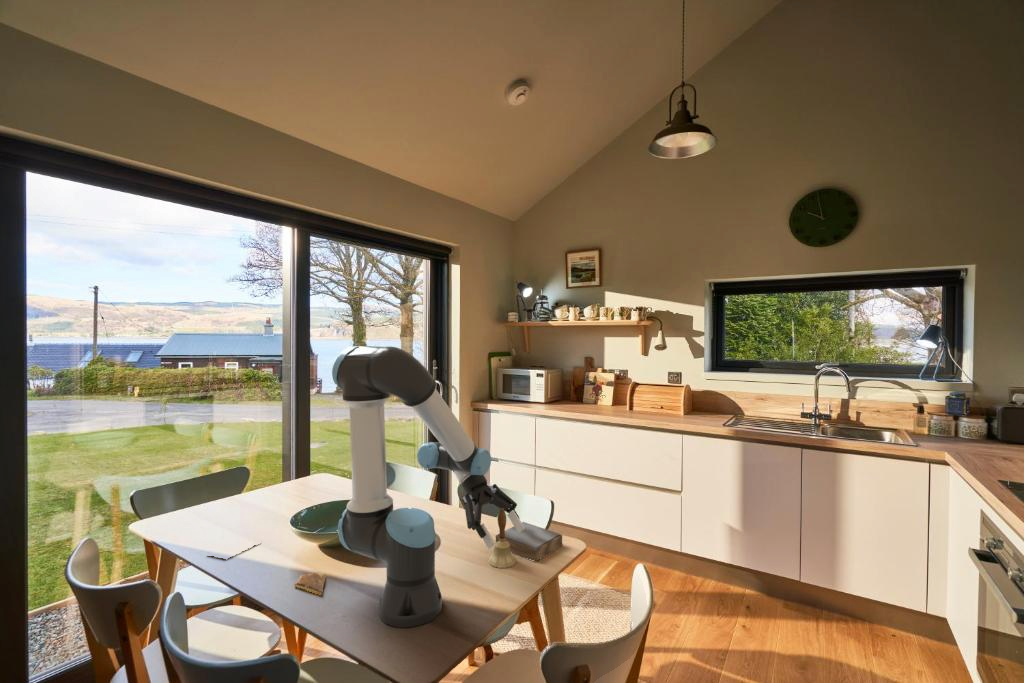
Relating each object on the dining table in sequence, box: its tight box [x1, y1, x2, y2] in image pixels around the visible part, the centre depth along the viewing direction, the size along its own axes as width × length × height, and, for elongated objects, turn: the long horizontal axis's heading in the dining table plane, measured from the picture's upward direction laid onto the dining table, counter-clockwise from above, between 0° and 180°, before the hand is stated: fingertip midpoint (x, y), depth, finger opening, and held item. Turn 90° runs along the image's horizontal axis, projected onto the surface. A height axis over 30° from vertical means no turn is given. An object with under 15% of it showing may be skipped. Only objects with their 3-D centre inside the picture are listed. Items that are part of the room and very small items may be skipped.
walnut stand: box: [495, 521, 563, 562], centre depth 152 cm, size 14×16×4 cm
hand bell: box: [487, 508, 517, 569], centre depth 142 cm, size 8×8×16 cm
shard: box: [293, 572, 326, 596], centre depth 128 cm, size 11×8×2 cm
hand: (507, 538), depth 141 cm, fingers open, 13 cm apart
